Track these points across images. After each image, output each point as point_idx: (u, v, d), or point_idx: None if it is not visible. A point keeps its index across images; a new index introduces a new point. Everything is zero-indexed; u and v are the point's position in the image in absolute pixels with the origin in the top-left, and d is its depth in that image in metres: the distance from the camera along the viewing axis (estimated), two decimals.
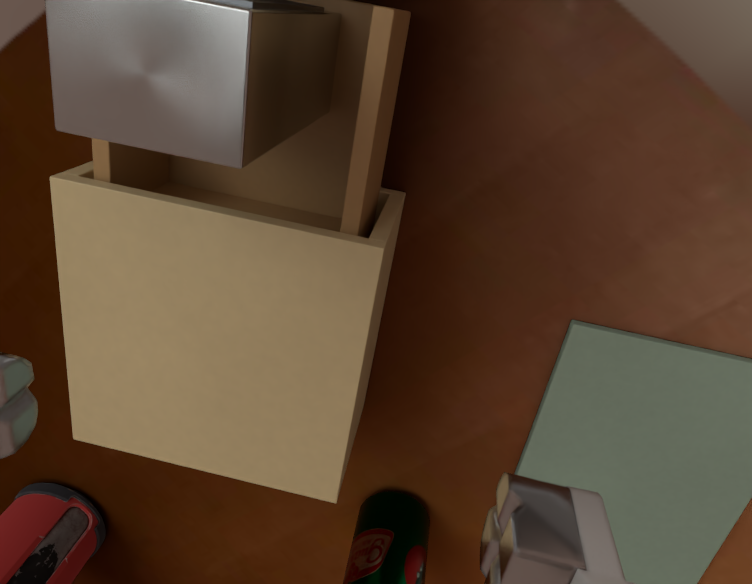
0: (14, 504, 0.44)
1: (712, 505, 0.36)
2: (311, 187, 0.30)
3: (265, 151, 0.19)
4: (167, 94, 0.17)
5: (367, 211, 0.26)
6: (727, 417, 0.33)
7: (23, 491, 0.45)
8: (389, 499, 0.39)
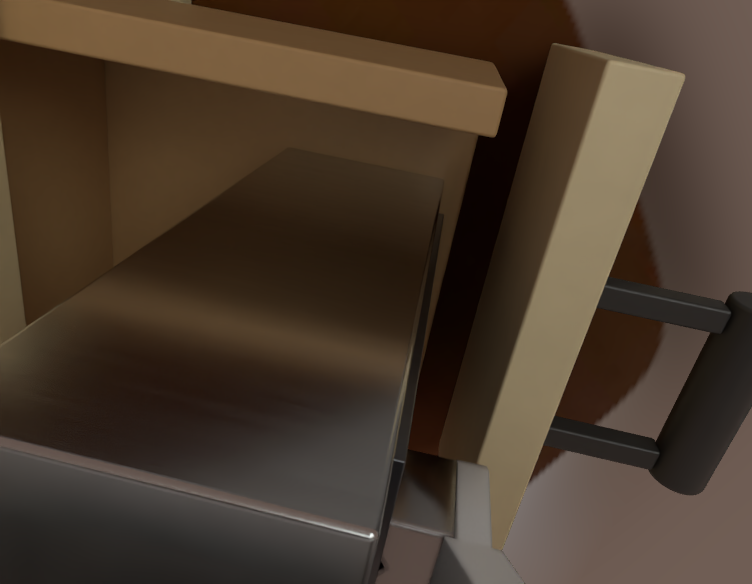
0: None
1: None
2: None
3: None
4: None
5: None
6: None
7: None
8: None
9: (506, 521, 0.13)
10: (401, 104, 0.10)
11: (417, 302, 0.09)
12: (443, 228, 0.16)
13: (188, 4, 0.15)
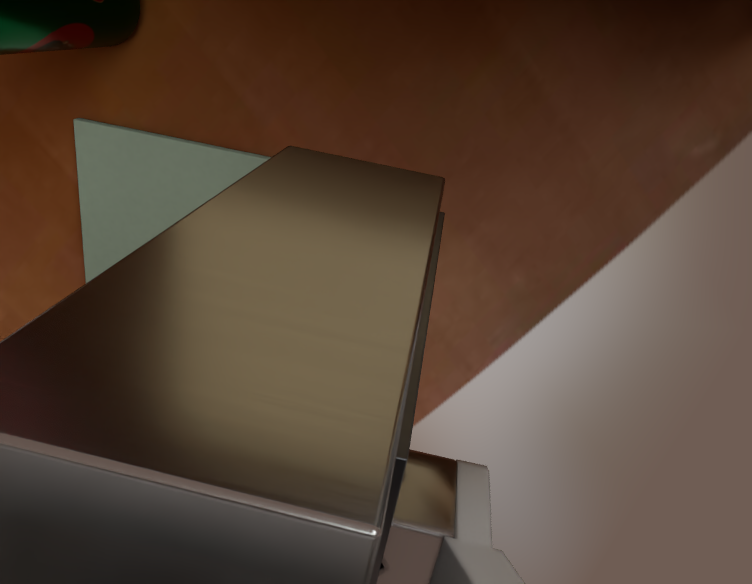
0: None
1: None
2: None
3: None
4: None
5: None
6: None
7: None
8: None
9: None
10: None
11: (418, 300, 0.09)
12: None
13: None
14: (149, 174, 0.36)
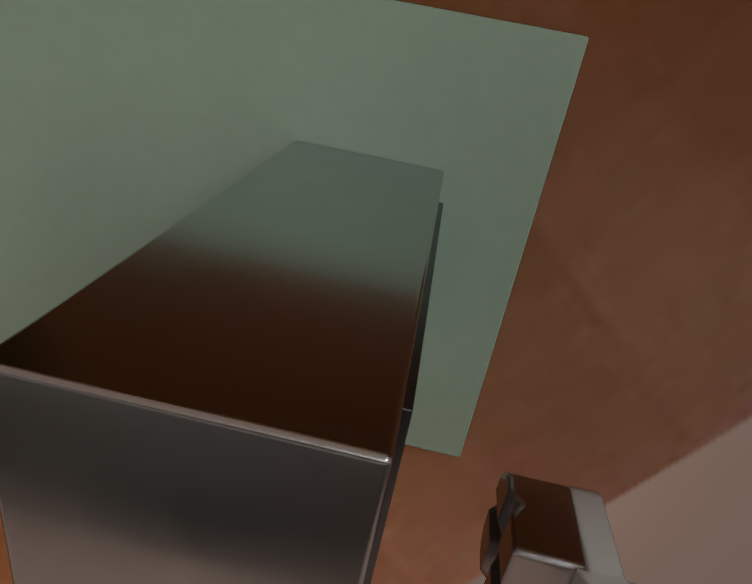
0: None
1: None
2: None
3: None
4: None
5: None
6: None
7: None
8: None
9: None
10: None
11: (420, 277, 0.09)
12: None
13: None
14: (30, 31, 0.16)
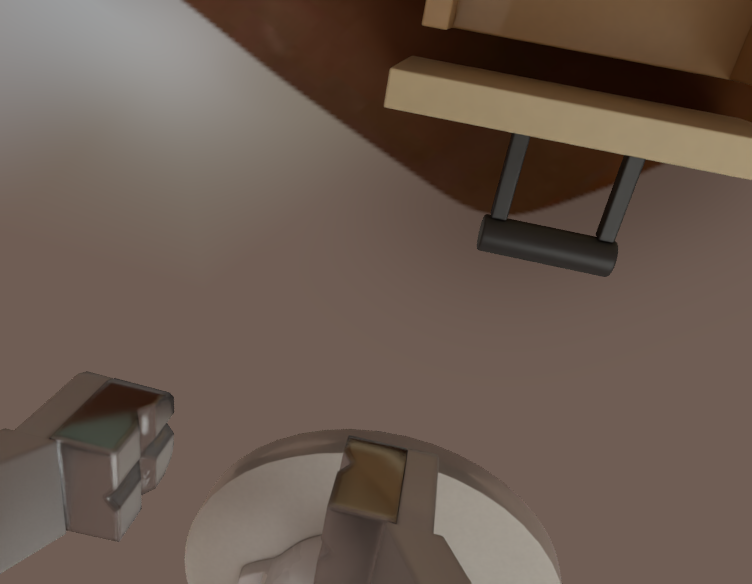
0: None
1: None
2: None
3: None
4: None
5: None
6: None
7: None
8: None
9: (505, 126, 0.18)
10: None
11: None
12: (633, 51, 0.21)
13: None
14: None
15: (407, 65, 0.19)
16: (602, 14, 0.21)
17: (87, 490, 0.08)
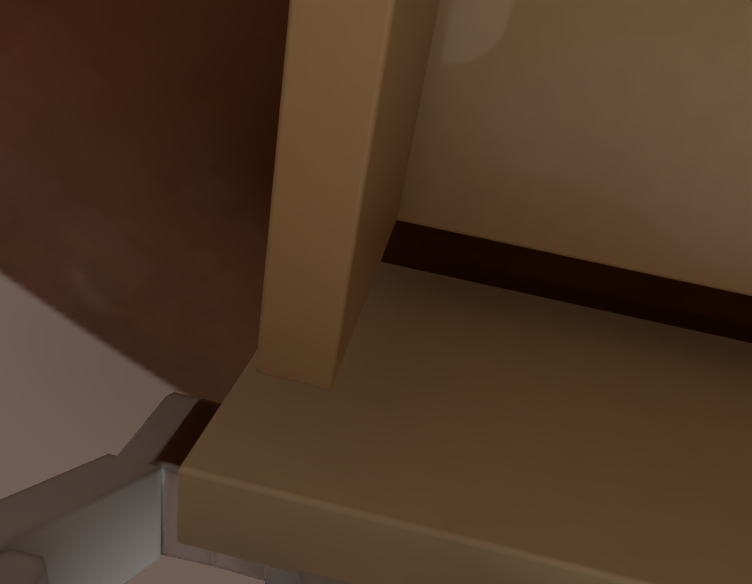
0: None
1: None
2: None
3: None
4: None
5: None
6: None
7: None
8: None
9: None
10: None
11: None
12: None
13: None
14: None
15: (263, 381, 0.08)
16: (715, 212, 0.10)
17: None
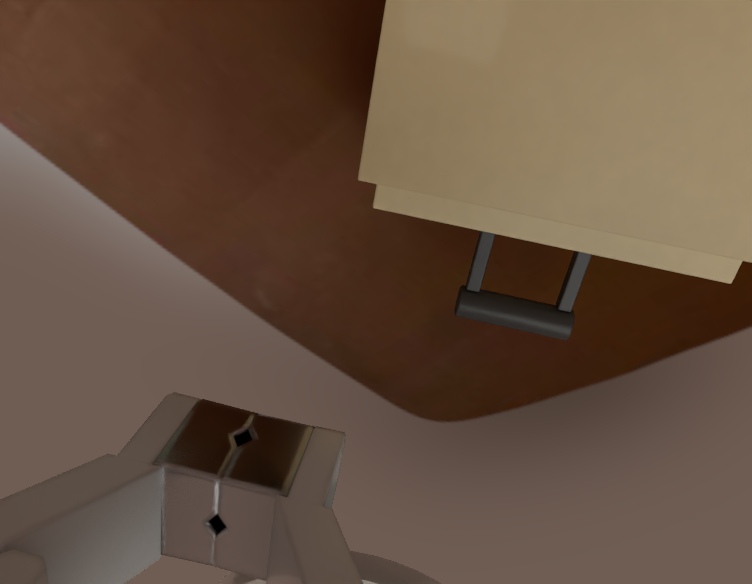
0: None
1: None
2: None
3: None
4: None
5: None
6: None
7: None
8: None
9: (474, 225, 0.21)
10: None
11: None
12: None
13: None
14: None
15: None
16: None
17: (186, 516, 0.08)
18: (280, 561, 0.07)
